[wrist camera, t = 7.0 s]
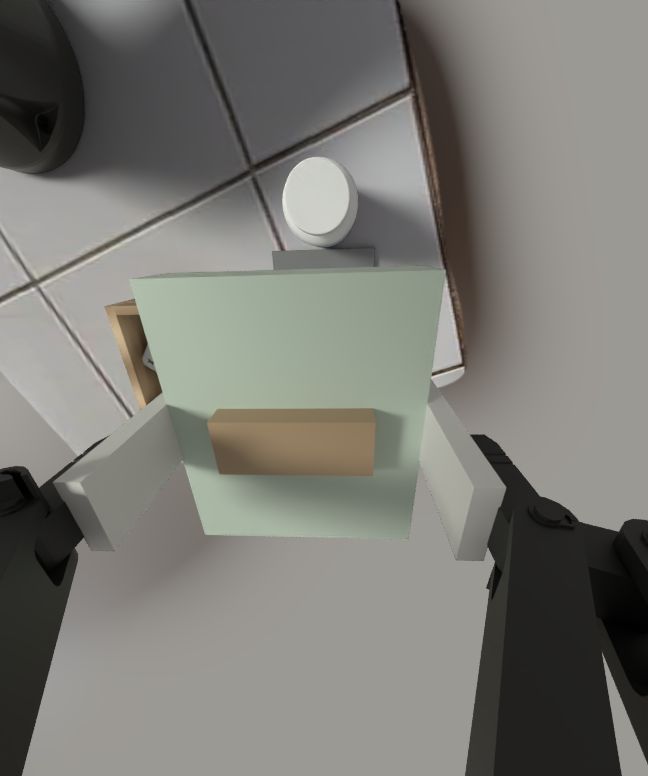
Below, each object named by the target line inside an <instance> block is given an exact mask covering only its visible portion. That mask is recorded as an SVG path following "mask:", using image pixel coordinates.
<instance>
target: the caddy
mask: <svg viewBox="0 0 648 776" xmlns="http://www.w3.org/2000/svg"><path fill="white" fill-rule="evenodd" d="M105 309H106V312H107V315H108V318H109V321H110V323H111V326H112V329H113V332H114V335H115V338H116V341H117V344H118V347H119V349H120V352H121V355H122V358H123V361H124V364H125V367H126V370H127V373H128V375H129V378H130V381H131V384H132V387H133V390H134V393H135V396H136V399H137V401H138V404H139V407H140V410H142V409H143V408H144V407H145V406H147V405H148V404H149V403H150V402H151V401H153V400H154V399H155V398H156V397H158V396H159V395H160V394H161V393H163V392H162V388H161V385H160V382H159V378H158V375H157V372H155V371H154V370H152V369H150V368H149V367H147V366H145V365H144V364H143V361H142V356H143V354H144V351H145V349H146V347H147V345H148V342H147V338H146V335H145V332H144V328H143V325H142V322H141V318H140V315H139V312H138V308H137V305H136V302H135V299H132V300H128V301H124V302H120V303H116V304H112V305H108V306H105Z"/></svg>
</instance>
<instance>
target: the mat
mask: <svg viewBox="0 0 648 776" xmlns="http://www.w3.org/2000/svg"><path fill="white" fill-rule="evenodd" d="M374 251H375V248H356V249H327V250H298V251H272V256H273V266H274V270H290V269H323V268H356V267H374Z"/></svg>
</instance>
